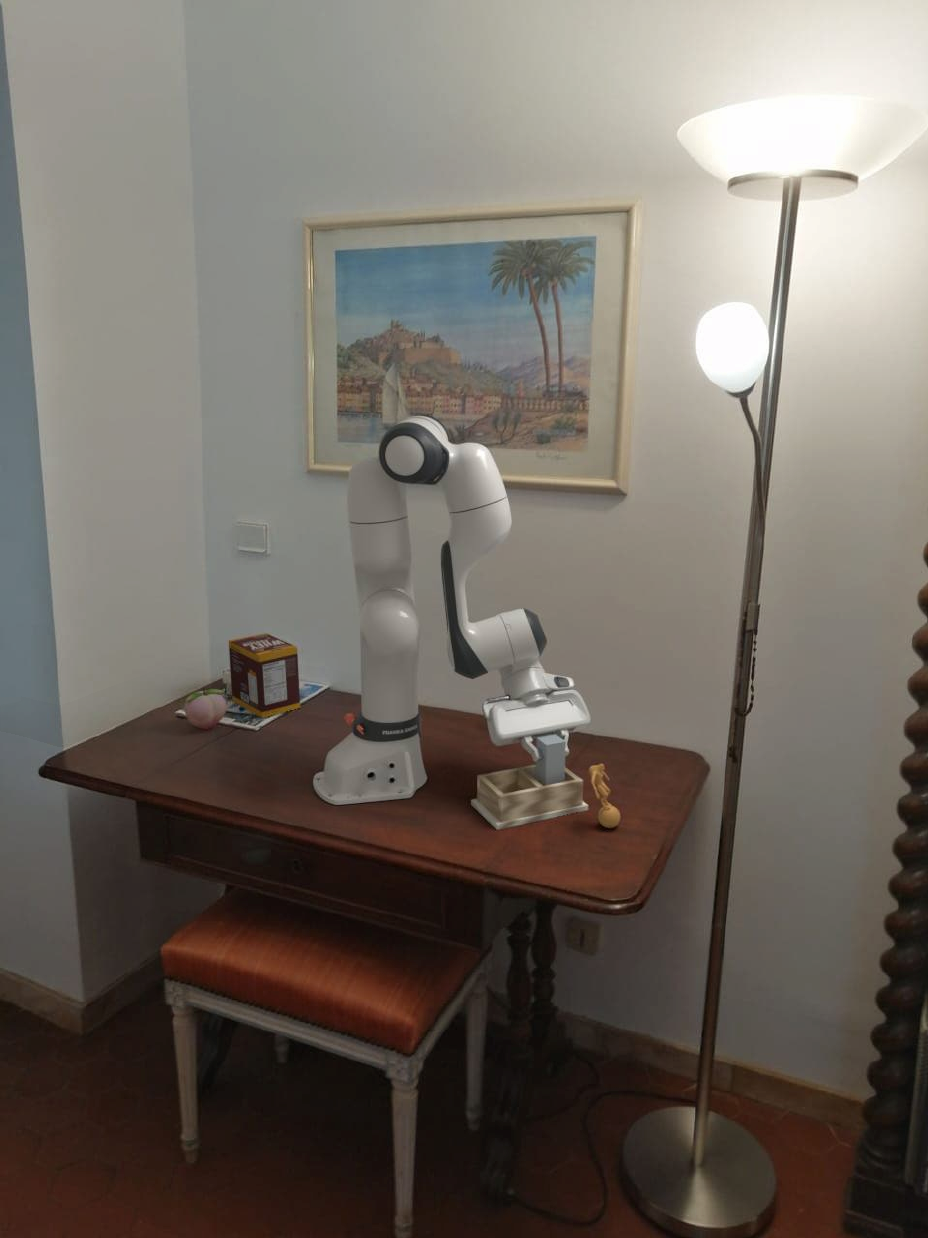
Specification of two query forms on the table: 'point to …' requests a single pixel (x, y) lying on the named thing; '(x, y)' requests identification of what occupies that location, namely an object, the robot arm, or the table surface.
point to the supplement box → (264, 674)
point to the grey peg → (551, 759)
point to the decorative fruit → (205, 708)
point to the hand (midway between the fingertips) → (552, 757)
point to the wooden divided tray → (526, 797)
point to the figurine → (604, 797)
